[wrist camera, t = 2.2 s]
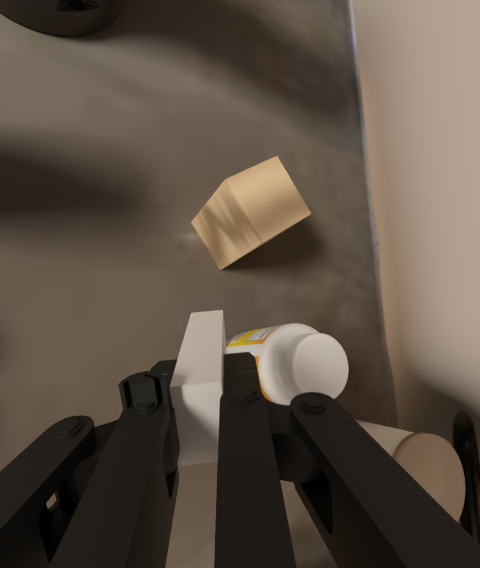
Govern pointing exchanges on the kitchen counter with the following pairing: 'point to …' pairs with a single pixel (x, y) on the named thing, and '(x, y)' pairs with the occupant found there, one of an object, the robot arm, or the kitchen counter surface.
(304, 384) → the supplement bottle
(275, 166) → the beech block
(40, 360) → the kitchen counter surface
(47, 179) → the kitchen counter surface
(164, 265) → the kitchen counter surface
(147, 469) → the robot arm
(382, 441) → the cream jar
